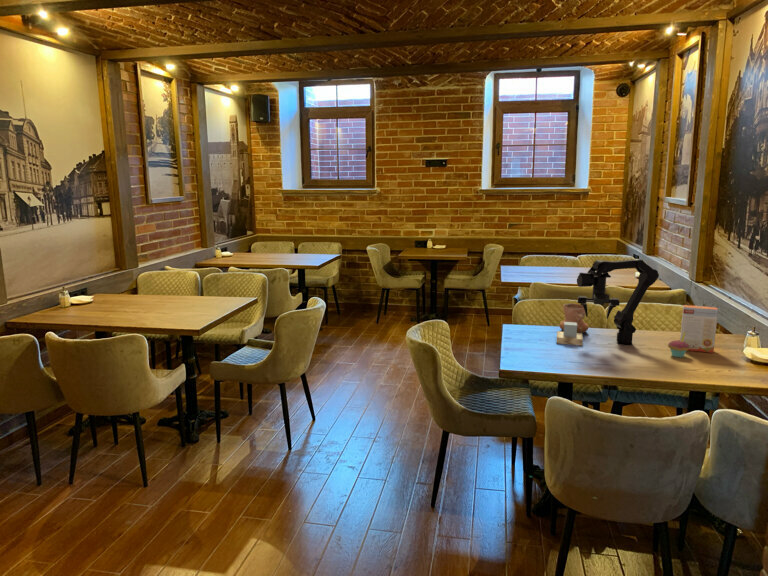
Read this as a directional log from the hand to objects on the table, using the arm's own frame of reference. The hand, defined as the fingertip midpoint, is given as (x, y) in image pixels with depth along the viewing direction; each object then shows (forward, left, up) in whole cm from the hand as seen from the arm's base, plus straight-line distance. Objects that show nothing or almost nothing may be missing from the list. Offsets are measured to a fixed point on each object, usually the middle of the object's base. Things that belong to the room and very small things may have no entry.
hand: (596, 318), depth 271 cm
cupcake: (-35, +9, -13) cm, 38 cm away
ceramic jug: (+10, -21, -13) cm, 27 cm away
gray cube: (+12, -1, -10) cm, 16 cm away
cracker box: (-45, -4, -13) cm, 47 cm away
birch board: (+12, -1, -13) cm, 18 cm away
